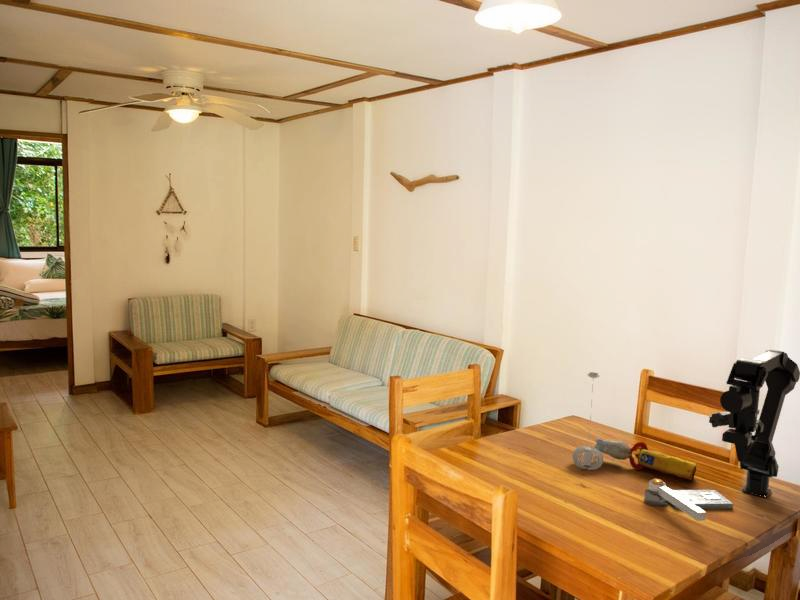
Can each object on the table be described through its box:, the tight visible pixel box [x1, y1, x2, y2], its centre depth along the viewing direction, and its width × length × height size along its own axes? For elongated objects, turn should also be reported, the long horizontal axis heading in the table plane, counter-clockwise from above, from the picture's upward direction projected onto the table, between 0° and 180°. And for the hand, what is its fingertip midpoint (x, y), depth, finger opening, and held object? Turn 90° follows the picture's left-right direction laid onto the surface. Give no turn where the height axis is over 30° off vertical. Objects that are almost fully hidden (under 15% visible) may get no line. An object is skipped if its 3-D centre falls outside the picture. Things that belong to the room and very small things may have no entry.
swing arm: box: [647, 478, 707, 522], centre depth 172 cm, size 20×4×3 cm, turn 14°
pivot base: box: [643, 488, 669, 508], centre depth 180 cm, size 6×6×3 cm
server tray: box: [668, 489, 734, 510], centre depth 181 cm, size 16×9×2 cm, turn 94°
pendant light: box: [571, 371, 604, 471], centre depth 203 cm, size 9×9×30 cm
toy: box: [593, 437, 697, 481], centre depth 204 cm, size 9×13×30 cm
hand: (740, 461), depth 178 cm, fingers closed
